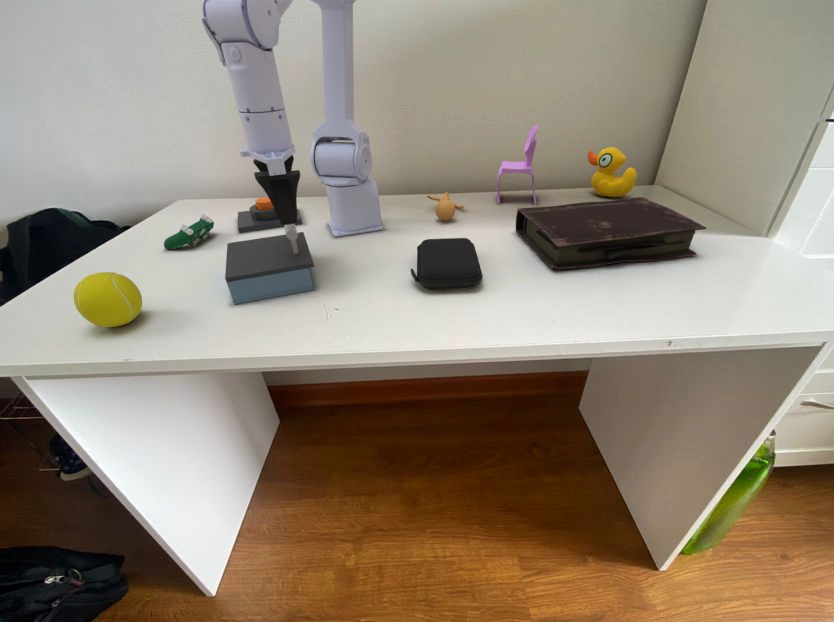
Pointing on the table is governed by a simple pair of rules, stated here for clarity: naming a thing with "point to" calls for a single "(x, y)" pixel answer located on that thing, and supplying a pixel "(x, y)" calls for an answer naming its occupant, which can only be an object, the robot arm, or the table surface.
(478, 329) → the table surface
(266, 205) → the button
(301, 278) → the lidded storage box
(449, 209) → the figurine
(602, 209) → the diary
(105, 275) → the tennis ball
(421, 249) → the carrying case
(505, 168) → the toy chair
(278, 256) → the lid
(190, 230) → the green toy race car
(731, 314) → the table surface
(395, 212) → the table surface
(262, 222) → the control block
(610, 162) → the duckling
